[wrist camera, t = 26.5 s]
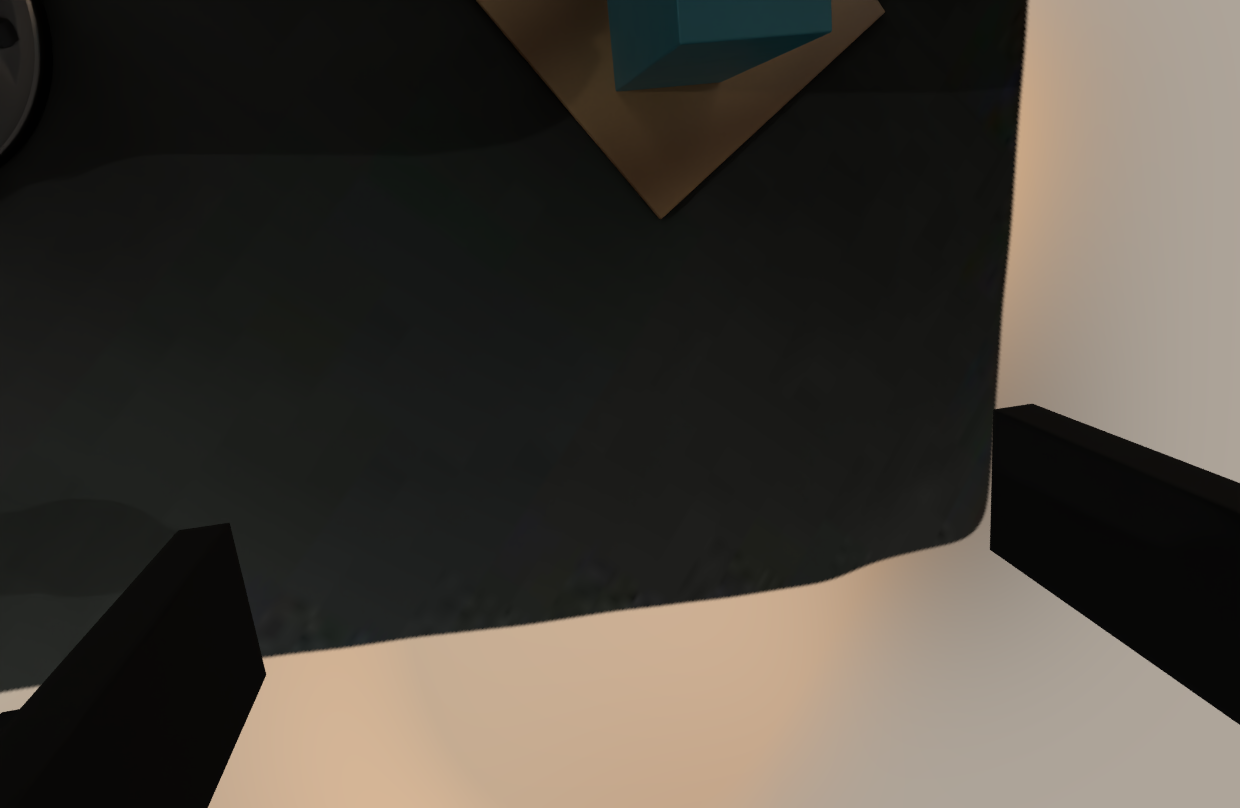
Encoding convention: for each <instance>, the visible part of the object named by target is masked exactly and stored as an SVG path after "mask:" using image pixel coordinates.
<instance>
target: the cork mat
mask: <svg viewBox="0 0 1240 808" xmlns="http://www.w3.org/2000/svg"><path fill="white" fill-rule="evenodd" d="M476 2H477V3H478V4H479V5H480V6H481V7H482V9H483V10H484V11H485V12H486V13H487V15H488V16H489V17H490V18H491V19H492V21H493V22H494V23H495V24H496V25H497V26H498V28H499V29H500V30H501V31H502V32H503V34H504V35H505V36H506V37H507V38H508V40H509V41H510V42H511V43H512V44H513V45H514V47H515V48H516V49H517V50H518V51H519V53H520V54H521V55H522V56H523V57H524V59H525V60H526V61H527V62H528V63H529V65H530V66H531V67H532V68H533V69H534V70H535V72H536V73H537V74H538V75H539V76H540V78H541V79H542V80H543V81H544V82H545V84H546V85H547V86H548V87H549V88H550V89H551V91H552V92H553V93H554V94H555V95H556V97H557V98H558V99H559V100H560V101H561V103H562V104H563V105H564V106H565V107H566V108H567V110H568V111H569V112H570V113H571V114H572V116H573V117H574V118H575V119H576V120H577V122H578V123H579V124H580V125H581V126H582V128H583V129H584V130H585V131H586V132H587V133H588V135H589V136H590V137H591V138H592V139H593V141H594V142H595V143H596V144H597V145H598V147H599V148H600V149H601V150H602V151H603V152H604V154H605V155H606V156H607V157H608V158H609V160H610V161H611V162H612V163H613V164H614V166H615V167H616V168H617V169H618V170H619V171H620V173H621V174H622V175H623V176H624V177H625V179H626V180H627V181H628V182H629V183H630V185H631V186H632V187H633V188H634V189H635V191H636V192H637V193H638V194H639V195H640V196H641V198H642V199H643V200H644V201H645V202H646V204H647V205H648V206H649V207H650V208H651V210H652V211H653V212H654V213H655V214H656V215H657V217H658V218H659V219H662V218H663V217H664V216H665V215H666V214H668V213H669V212H670V211H671V210H672V209H673V208H674V207H675V206H676V205H677V204H678V203H679V202H681V201H682V200H683V199H684V198H685V197H686V196H687V195H688V194H689V193H690V192H691V191H692V190H693V189H695V188H696V187H697V186H698V185H699V184H700V183H701V182H702V181H703V180H704V179H705V178H706V177H708V176H709V175H710V174H711V173H712V172H713V171H714V170H715V169H716V168H717V167H718V166H719V165H721V164H722V163H723V162H724V161H725V160H726V159H727V158H728V157H729V156H730V155H731V154H732V153H733V152H735V151H736V150H737V149H738V148H739V147H740V146H741V145H742V144H743V143H744V142H745V141H746V140H748V139H749V138H750V137H751V136H752V135H753V134H754V133H755V132H756V131H757V130H758V129H759V128H760V127H762V126H763V125H764V124H765V123H766V122H767V121H768V120H769V119H770V118H771V117H772V116H773V115H775V114H776V113H777V112H778V111H779V110H780V109H781V108H782V107H783V106H784V105H785V104H786V103H788V102H789V101H790V100H791V99H792V98H793V97H794V96H795V95H796V94H797V93H798V92H799V91H800V90H802V89H803V88H804V87H805V86H806V85H807V84H808V83H809V82H810V81H811V80H812V79H813V78H815V77H816V76H817V75H818V74H819V73H820V72H821V71H822V70H823V69H824V68H825V67H826V66H827V65H829V64H830V63H831V62H832V61H833V60H834V59H835V58H836V57H837V56H838V55H839V54H840V53H842V52H843V51H844V50H845V49H846V48H847V47H848V46H849V45H850V44H851V43H852V42H853V41H855V40H856V39H857V38H858V37H859V36H860V35H861V34H862V33H863V32H864V31H865V30H866V29H867V28H869V27H870V26H871V25H872V24H873V23H874V22H875V21H876V20H877V19H878V18H879V17H880V16H882V15H883V14H884V13H885V11H884V9H883V8H882V6H881V5H880V3H879V2H878V0H831V9H832V32H830V33H828V34H826V35H824V36H822V37H820V38H817V39H815V40H813V41H811V42H809V43H806V44H804V45H802V46H800V47H798V48H795V49H793V50H791V51H789V52H787V53H784V54H782V55H780V56H778V57H775V58H773V59H771V60H769V61H767V62H764V63H762V64H760V65H758V66H756V67H753V68H751V69H749V70H747V71H745V72H742V73H740V74H738V75H736V76H734V77H731V78H729V79H727V80H725V81H722V82H719V83H708V84H697V85H685V86H674V87H663V88H652V89H640V90H629V91H618V92H617V91H616V90H615V79H614V68H613V58H612V47H611V37H610V26H609V16H608V5H607V0H476Z"/></svg>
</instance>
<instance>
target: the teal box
mask: <svg viewBox="0 0 1240 808" xmlns="http://www.w3.org/2000/svg"><path fill="white" fill-rule="evenodd" d="M607 5H608V16H609V26H610V37H611V47H612V58H613V68H614V79H615V90H616V91H617V92H618V91H629V90H640V89H652V88H663V87H674V86H685V85H697V84H708V83H719V82H722V81H725V80H727V79H729V78H731V77H734V76H736V75H738V74H740V73H742V72H745V71H747V70H749V69H751V68H753V67H756V66H758V65H760V64H762V63H764V62H767V61H769V60H771V59H773V58H775V57H778V56H780V55H782V54H784V53H787V52H789V51H791V50H793V49H795V48H798V47H800V46H802V45H804V44H806V43H809V42H811V41H813V40H815V39H817V38H820V37H822V36H824V35H826V34H828V33H830V32H832V9H831V0H607Z"/></svg>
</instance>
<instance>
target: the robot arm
mask: <svg viewBox="0 0 1240 808" xmlns="http://www.w3.org/2000/svg"><path fill="white" fill-rule="evenodd" d="M52 66H53V54H52V41H51V34H50V28H49V23H48V19H47V15H46V11H45V8H44V5H43V3H42V0H0V167H2V166H3V165H4V164H5V163H7V162H8V161H9V160H10V159H11V158H12V157H13V156H15V154H16V153H17V152H18V151H19V150H20V149H21V148H22V147H23V146H24V144H25V143H26V142H27V140H28V139H29V137H30V136H31V135H32V133H33V131H34V130H35V128H36V126H37V124H38V122H39V120H40V118H41V116H42V113H43V111H44V108H45V106H46V102H47V99H48V95H49V91H50V85H51V79H52ZM990 550H991V551H993V552H994V553H995V554H997V555H998V556H1000V557H1001V558H1003V559H1005V561H1007V562H1008V563H1010V564H1012V565H1013V566H1014V567H1015V568H1017V569H1018V570H1020V571H1021V572H1023V573H1024V574H1025V575H1027V576H1028V577H1030V578H1031V579H1033V580H1034V581H1036V582H1037V583H1038V584H1040V585H1041V586H1043V587H1044V588H1045V589H1047V590H1048V591H1050V592H1051V593H1053V594H1054V595H1055V596H1057V597H1058V598H1060V599H1061V600H1063V601H1064V602H1065V603H1067V604H1068V605H1070V606H1071V607H1073V608H1074V609H1075V610H1077V611H1078V612H1080V613H1081V614H1083V615H1084V616H1085V617H1087V618H1088V619H1090V620H1091V621H1093V622H1094V623H1095V624H1097V625H1098V626H1100V627H1101V628H1102V629H1104V630H1105V631H1107V632H1108V633H1110V634H1111V635H1112V636H1114V637H1115V638H1117V639H1118V640H1120V641H1121V642H1123V643H1124V644H1125V645H1127V646H1129V647H1130V648H1131V649H1133V650H1134V651H1135V652H1137V653H1138V654H1140V655H1141V656H1142V657H1144V658H1145V659H1147V660H1148V661H1150V662H1151V663H1152V664H1154V665H1155V666H1157V667H1158V668H1160V669H1161V670H1163V671H1164V672H1165V673H1167V674H1168V675H1170V676H1171V677H1173V678H1174V679H1175V680H1177V681H1178V682H1180V683H1181V684H1182V685H1184V686H1185V687H1187V688H1188V689H1190V690H1191V691H1192V692H1194V693H1195V694H1197V695H1198V696H1200V697H1201V698H1202V699H1204V700H1205V701H1207V702H1208V703H1210V704H1211V705H1212V706H1214V707H1215V708H1217V709H1218V710H1220V711H1221V712H1223V713H1224V714H1225V715H1227V716H1228V717H1229V718H1231V719H1232V720H1234V721H1235V722H1237V723H1238V724H1240V483H1238V482H1235V481H1233V480H1230V479H1227V478H1225V477H1222V476H1220V475H1217V474H1214V473H1211V472H1209V471H1207V470H1204V469H1201V468H1199V467H1196V466H1193V465H1191V464H1188V463H1186V462H1183V461H1181V460H1178V459H1175V458H1173V457H1170V456H1168V455H1165V454H1162V453H1160V452H1157V451H1154V450H1152V449H1149V448H1147V447H1144V446H1141V445H1139V444H1136V443H1134V442H1131V441H1128V440H1126V439H1123V438H1121V437H1118V436H1115V435H1113V434H1110V433H1107V432H1105V431H1102V430H1099V429H1097V428H1094V427H1092V426H1089V425H1087V424H1084V423H1081V422H1079V421H1076V420H1073V419H1071V418H1068V417H1066V416H1063V415H1061V414H1058V413H1055V412H1052V411H1050V410H1047V409H1045V408H1042V407H1040V406H1037V405H1034V404H1027V405H1021V406H1014V407H1008V408H1001V409H994V410H993V448H992V488H991V529H990ZM265 676H266V672H265V668H264V664H263V660H262V655H261V651H260V647H259V643H258V639H257V635H256V631H255V626H254V622H253V618H252V614H251V610H250V606H249V602H248V597H247V593H246V589H245V585H244V581H243V577H242V573H241V568H240V564H239V560H238V556H237V552H236V548H235V544H234V539H233V535H232V531H231V527H230V523H225V524H218V525H212V526H205V527H198V528H191V529H185V530H178V532H177V533H176V534H175V535H174V536H173V537H172V538H171V539H170V541H169V542H168V543H167V544H166V545H165V546H164V547H163V548H162V550H161V551H160V552H159V553H158V554H157V555H156V556H155V557H154V559H153V560H152V561H151V562H150V563H149V564H148V565H147V566H146V568H145V569H144V570H143V571H142V572H141V573H140V574H139V575H138V577H137V578H136V579H135V580H134V581H133V582H132V583H131V584H130V586H129V587H128V588H127V589H126V590H125V591H124V592H123V594H122V595H121V596H120V597H119V598H118V599H117V600H116V601H115V603H114V604H113V605H112V606H111V607H110V608H109V609H108V610H107V612H106V613H105V614H104V615H103V616H102V617H101V618H100V619H99V621H98V622H97V623H96V624H95V625H94V626H93V627H92V628H91V630H90V631H89V632H88V633H87V634H86V635H85V636H84V637H83V639H82V640H81V641H80V642H79V643H78V644H77V645H76V646H75V648H74V649H73V650H72V651H71V652H70V653H69V654H68V655H67V657H66V658H65V659H64V660H63V661H62V662H61V663H60V664H59V666H58V667H57V668H56V669H55V670H54V671H53V672H52V673H51V675H50V676H49V677H48V678H47V679H46V680H45V681H44V682H43V684H42V685H41V686H40V687H39V688H38V689H37V690H36V692H35V693H34V694H33V695H32V696H31V697H30V698H29V699H28V701H27V702H26V703H25V704H24V705H23V706H22V707H21V708H20V709H18V710H13V711H7V712H2V713H1V714H0V808H208V806H209V803H210V801H211V799H212V797H213V794H214V792H215V790H216V788H217V785H218V783H219V781H220V778H221V776H222V774H223V772H224V769H225V767H226V765H227V763H228V760H229V758H230V756H231V753H232V751H233V749H234V747H235V744H236V742H237V740H238V737H239V735H240V733H241V730H242V728H243V726H244V724H245V722H246V719H247V717H248V715H249V713H250V710H251V708H252V706H253V704H254V701H255V699H256V697H257V694H258V692H259V690H260V688H261V685H262V683H263V681H264V678H265Z"/></svg>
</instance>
